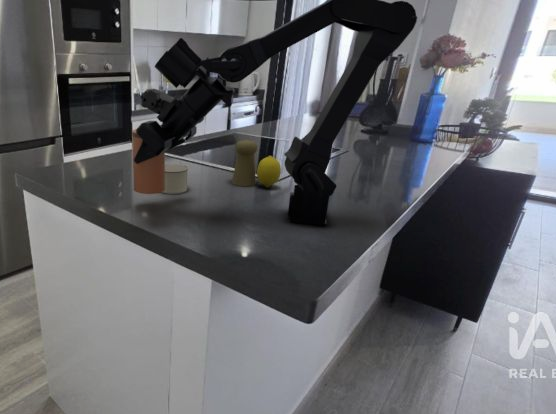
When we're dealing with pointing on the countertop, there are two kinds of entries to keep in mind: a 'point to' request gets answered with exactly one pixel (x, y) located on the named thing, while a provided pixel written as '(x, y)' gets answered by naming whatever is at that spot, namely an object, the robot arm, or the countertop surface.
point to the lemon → (268, 171)
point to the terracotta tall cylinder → (148, 171)
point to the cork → (245, 164)
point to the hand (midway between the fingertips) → (142, 158)
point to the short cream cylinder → (175, 179)
